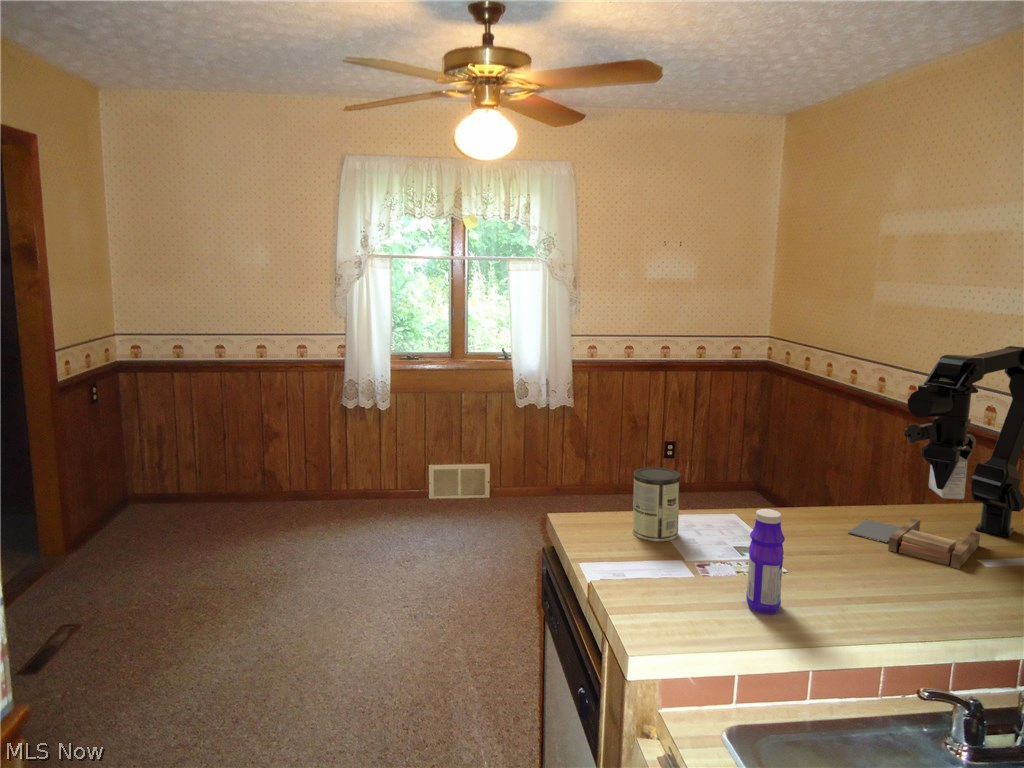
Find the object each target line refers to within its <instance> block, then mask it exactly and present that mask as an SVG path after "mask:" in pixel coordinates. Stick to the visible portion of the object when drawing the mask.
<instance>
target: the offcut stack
mask: <svg viewBox="0 0 1024 768" xmlns="http://www.w3.org/2000/svg"><path fill="white" fill-rule="evenodd" d="M956 547H957V540H955V539H950V538H947V537H943V536H939V535H935V534H930V533H926V532H923V531H920V530H919V531H915V530H910V531H909V532H907V533H906V534H905V535H903V539H902V542H901V546H900V547H899V550H898V553H900V554H902V553H903V554H902V555H907V556H911V557H915V558H919V559H922V560H927V561H930V562H933V563H938V564H941V565H945V566H951V558H952V552H953V551H954V550H955V549H956Z"/></svg>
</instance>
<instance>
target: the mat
mask: <svg viewBox="0 0 1024 768" xmlns="http://www.w3.org/2000/svg"><path fill="white" fill-rule="evenodd" d="M901 527H902V526H897V525H893V524H889V523H884V522H881V521H877V520H871V519H868V518H866V519H865V520H863V521H862V522H860V523H859V524H857V525H856V526H855V527H853V528H852V529H850V530H849V531H848V532H847V534H848V535H851V534H854V535H853V536H855V535H859V536H862V537H861V538H863V537H867V538H871V539H875V540H879V541H882V542H885V543H884V544H886V543H887V542H888V541H889V537H890V536H891V535H893V534H894V533H895V532H896V531H898V530H899V529H900V528H901ZM859 536H858V537H859ZM867 538H866V539H867ZM871 539H870V540H871ZM882 542H881V543H882ZM888 543H889V542H888ZM888 543H887V544H888Z"/></svg>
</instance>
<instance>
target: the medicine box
mask: <svg viewBox="0 0 1024 768" xmlns="http://www.w3.org/2000/svg"><path fill="white" fill-rule="evenodd" d="M958 461H959V462H958V464H957V466H956V468H955V469H954V471H953V473H952V475H951V476H950V478H949V480H948V482H947V483H946V485H945V487H944V489H942V490H941V489H937V486H936V481H935V477H934V472H933V468H932V465H931V464H929V466H930V468H929V477H928V488H929V489H931V490H932V491H933V492H934V493H936V494H937V495H938V496H939V497H941V498H942V499H947V500H948V499H950V500H964V499H965V491H966V483H967V469H968V459H967V460H965V459H964V458H962V457H961V456H959V460H958Z"/></svg>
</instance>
